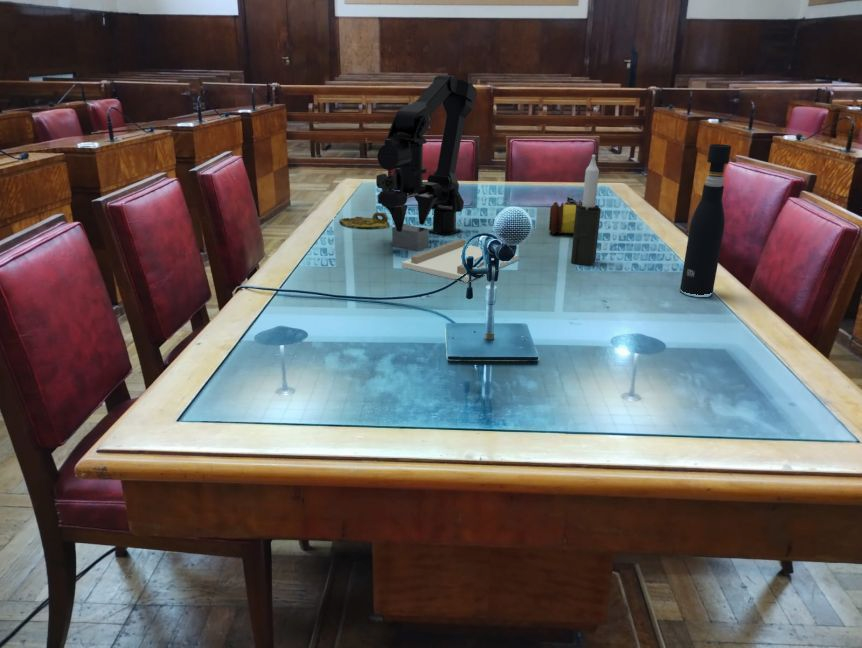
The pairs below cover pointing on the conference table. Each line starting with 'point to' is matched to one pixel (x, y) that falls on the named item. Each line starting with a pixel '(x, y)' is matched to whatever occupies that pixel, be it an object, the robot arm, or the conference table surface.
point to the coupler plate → (446, 260)
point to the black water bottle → (706, 228)
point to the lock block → (410, 238)
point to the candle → (587, 220)
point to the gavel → (563, 216)
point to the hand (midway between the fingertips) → (410, 227)
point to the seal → (367, 222)
